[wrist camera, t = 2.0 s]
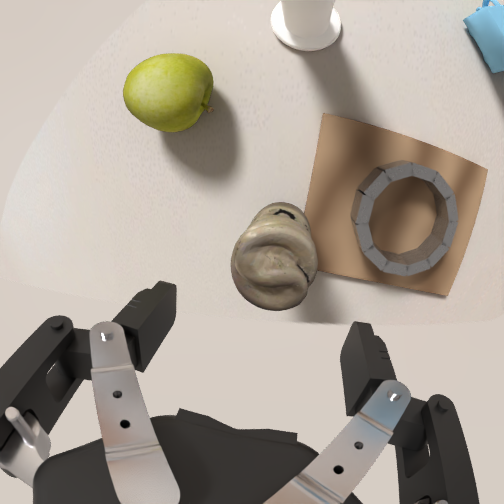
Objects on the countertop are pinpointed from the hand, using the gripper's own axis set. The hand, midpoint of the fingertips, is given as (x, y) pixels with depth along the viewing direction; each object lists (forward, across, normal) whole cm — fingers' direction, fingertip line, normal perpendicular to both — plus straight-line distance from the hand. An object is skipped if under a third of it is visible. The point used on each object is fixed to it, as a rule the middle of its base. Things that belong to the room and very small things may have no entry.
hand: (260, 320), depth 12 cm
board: (+19, -12, -3) cm, 23 cm away
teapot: (+19, -22, -27) cm, 40 cm away
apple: (+19, +12, -11) cm, 25 cm away
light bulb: (+19, 0, 0) cm, 19 cm away
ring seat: (+19, -12, -3) cm, 23 cm away
